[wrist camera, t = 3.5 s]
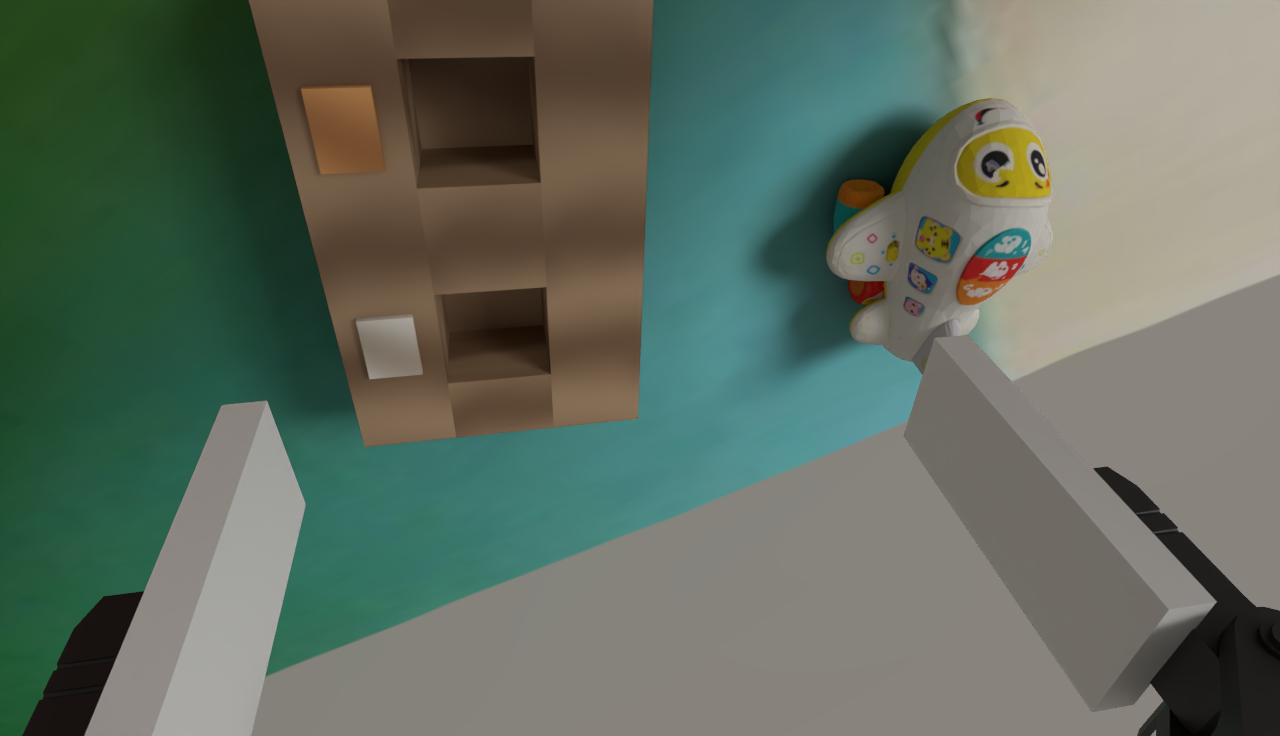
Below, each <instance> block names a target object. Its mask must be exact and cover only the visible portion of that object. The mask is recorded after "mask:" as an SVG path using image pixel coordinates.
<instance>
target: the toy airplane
mask: <svg viewBox="0 0 1280 736" xmlns="http://www.w3.org/2000/svg"><path fill="white" fill-rule="evenodd" d="M884 192H885V190H884V188H883V187H882V186H880V185H879V184H878V183H876V182H875V181H869V180H862V179H860V180H849V181H846V182H844V183H843V184H842V185H841V187H840V189H839V192H838V195H837V200H836V206H835V211H834V217H833V234H834V235H833V237H832V238H831V240H830V241H829V243H828V247H827V251H826V260H827V264H828V266H829V268H830V269H831V271H832V272H833V273H834V274H836V275H837V276H839V277H841V278H844V279H848V287H849V293H850V295H851V297H852V299H853V300H854V301H855V302H857V303H858V304H861V305H866V306H865V307H863V308H862V309H861V310H859V311H858V312H857V313H856V314H855V315H854V316H853V317H852V319H851V322H850V325H849V329H850V333H851V335H852V337H853V338H854V339H855V340H856V341H858V342H860V343H864V344H874V345H883V346H884V348H885V349H887V350H888V351H889V352H890V353H892V354H893V355H895V356H896V357H898V358H900V359H902V360H906V361H911V362H914V364H915V365H916V367H917V368H918V369H919V371H920V372H921V373H922V374H923V373H924V370H925V367H926V363H927V360H928V357H929V354H930V351H931V348H932V344H933V341H934V338H940V337H951V336H962V335H966V334H968V333H969V332H970V331H971V330H972V329H973V328H974V327H975V325H976V323H977V321H978V319H979V310H978V308H979V307H980V306H981V305H982V304H983V303H985V302H986V301H987V300H988V299H990V298H991V297H992V296H993V295H995V294H996V293H997V292H998V291H999V290H1000V289H1001V288H1002V287H1003V286H1004V285H1005V284H1007V283H1008V282H1009V281H1010V280H1011V278H1012V277H1013V276H1016V275H1019V274H1022V273H1025V272H1028V271H1029V270H1031V269H1033V268H1034V267H1036V266H1037V265H1038V264H1039V263H1041V262H1042V261H1043V260H1044V258H1045V257H1046V256H1047V254H1048V252H1049V250H1050V249H1051V246H1052V241H1053V233H1052V227H1051V225H1050V223H1049V221H1048V219H1047V213H1048V207H1049V204H1050V202H1051V200H1052V195H1053V184H1052V178H1051V172H1050V167H1049V163H1048V159H1047V154H1046V151H1045V148H1044V144H1043V142H1042V140H1041V139H1040V137H1039V135H1038V134H1037V132H1036V131H1035V129H1034V128H1033V126H1032V125H1031V123H1030V122H1029V121H1028V119H1027V118H1026V117H1025V116H1024V115H1023V114H1022V113H1021V111H1020V110H1019V109H1018V108H1016V107H1015V106H1013V105H1012V104H1010V103H1008V102H1007V101H1004V100H1001V99H993V98H988V99H982V100H976V101H974V102H971V103H968V104H965V105H963V106H961V107H959V108H957V109H955V110H953V111H951V112H949V113H948V114H946V115H945V116H944V117H942V118H941V119H939V120H938V121H937V122H936V123H935V124H934V125H933V126H932V127H930V128H929V129H928V130H927V131H926V132H925V133H924V134H923V135H922V136H921V138H920V139H919V140H918V141H917V142H916V144H915V145H914V146H913V147H912V149H911V151H910V152H909V154H908V155H907V157H906V158H905V160H904V162H903V164H902V166H901V167H900V170H899V172H898V174H897V176H896V179H895V181H894V183H893V186H892V190H891V193H890V194H889V195H887V196H885V197H884Z"/></svg>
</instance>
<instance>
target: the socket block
mask: <svg viewBox="0 0 1280 736" xmlns="http://www.w3.org/2000/svg"><path fill="white" fill-rule="evenodd" d="M249 3H250V7H251V11H252V15H253V19H254V23H255V26H256V30H257V34H258V38H259V42H260V46H261V50H262V53H263V57H264V61H265V65H266V69H267V73H268V76H269V80H270V84H271V88H272V92H273V96H274V100H275V103H276V107H277V111H278V115H279V119H280V123H281V126H282V130H283V134H284V138H285V142H286V146H287V149H288V153H289V157H290V161H291V165H292V169H293V173H294V176H295V180H296V184H297V188H298V192H299V196H300V199H301V203H302V207H303V211H304V215H305V219H306V223H307V226H308V230H309V234H310V238H311V242H312V246H313V249H314V253H315V257H316V261H317V265H318V269H319V273H320V276H321V280H322V284H323V288H324V292H325V296H326V299H327V303H328V307H329V311H330V315H331V319H332V323H333V326H334V330H335V334H336V338H337V342H338V346H339V349H340V353H341V357H342V361H343V365H344V369H345V372H346V376H347V380H348V384H349V388H350V392H351V396H352V399H353V403H354V407H355V411H356V415H357V419H358V422H359V426H360V430H361V434H362V438H363V442H364V446H365V447H368V446H378V445H387V444H397V443H407V442H417V441H426V440H436V439H446V438H456V437H465V436H475V435H485V434H494V433H504V432H514V431H524V430H533V429H543V428H553V427H562V426H572V425H582V424H592V423H601V422H611V421H621V420H631V419H638V401H639V375H640V348H641V322H642V295H643V269H644V242H645V216H646V189H647V162H648V136H649V109H650V83H651V56H652V30H653V3H654V0H249Z"/></svg>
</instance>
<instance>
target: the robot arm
mask: <svg viewBox="0 0 1280 736" xmlns="http://www.w3.org/2000/svg"><path fill="white" fill-rule="evenodd" d="M904 437H905V439H906V440H907V442H908V443H909V445H910V446H911V447H912V449H913V451H914V452H915V453H916V455H917V456H918V458H919V459H920V461H921V462H922V464H923V465H924V467H925V468H926V470H927V471H928V473H929V474H930V475H931V477H932V478H933V480H934V481H935V483H936V484H937V486H938V487H939V489H940V490H941V492H942V493H943V495H944V496H945V497H946V499H947V500H948V502H949V503H950V505H951V506H952V508H953V509H954V510H955V512H956V514H957V515H958V517H959V518H960V519H961V521H962V522H963V524H964V525H965V527H966V528H967V530H968V531H969V533H970V534H971V536H972V537H973V538H974V540H975V541H976V543H977V544H978V546H979V547H980V549H981V550H982V552H983V553H984V555H985V556H986V558H987V559H988V560H989V562H990V564H991V565H992V566H993V568H994V569H995V571H996V572H997V574H998V575H999V577H1000V578H1001V580H1002V581H1003V583H1004V584H1005V585H1006V587H1007V588H1008V590H1009V591H1010V593H1011V594H1012V596H1013V597H1014V599H1015V600H1016V602H1017V603H1018V605H1019V606H1020V608H1021V609H1022V610H1023V612H1024V613H1025V615H1026V616H1027V618H1028V619H1029V621H1030V622H1031V624H1032V625H1033V627H1034V628H1035V630H1036V631H1037V632H1038V634H1039V635H1040V637H1041V638H1042V640H1043V641H1044V643H1045V644H1046V646H1047V647H1048V649H1049V650H1050V651H1051V653H1052V654H1053V656H1054V657H1055V659H1056V660H1057V662H1058V663H1059V665H1060V666H1061V668H1062V669H1063V671H1064V672H1065V674H1066V675H1067V677H1068V678H1069V679H1070V681H1071V682H1072V684H1073V685H1074V687H1075V688H1076V690H1077V691H1078V693H1079V694H1080V696H1081V697H1082V699H1083V700H1084V701H1085V703H1086V704H1087V706H1088V707H1089V709H1090V710H1091V712H1095V711H1100V710H1106V709H1111V708H1117V707H1123V706H1128V705H1133V704H1134V703H1135V702H1136V701H1137V700H1138V699H1139V697H1140V696H1141V695H1142V693H1143V692H1144V691H1145V690H1146V689H1147V687H1148V686H1149V685H1150V684H1152V685H1153V687H1154V688H1155V690H1156V691H1157V692H1158V694H1159V695H1160V696H1161V697H1162V699H1163V700H1164V701H1163V702H1162V703H1161V704H1160V706H1159V707H1158V708H1157V709H1156V710H1155V711H1154V713H1153V714H1152V715H1151V716H1150V717H1149V718H1148V720H1147V721H1146V722H1145V723H1144V724H1143V726H1142V727H1141V728H1140V729H1139V732H1138V735H1137V736H1150V735H1151V734H1152V733H1153V732H1154V731H1155V730H1156V736H1280V611H1278V610H1274V609H1270V608H1266V607H1256V606H1255V605H1254V604H1252V603H1251V602H1250V601H1249V600H1248V599H1247V598H1246V597H1245V596H1244V595H1243V594H1242V593H1241V592H1240V591H1239V590H1238V589H1237V588H1236V587H1235V586H1234V585H1233V584H1232V583H1231V582H1230V581H1229V580H1228V579H1227V578H1226V576H1225V575H1224V574H1223V573H1222V572H1221V571H1220V570H1219V569H1218V568H1217V567H1216V566H1215V565H1214V564H1213V563H1212V562H1211V561H1210V560H1209V559H1208V558H1207V557H1206V556H1205V555H1204V554H1203V553H1202V552H1201V551H1200V550H1199V549H1198V548H1197V547H1196V546H1195V545H1194V544H1193V543H1192V542H1191V541H1190V540H1189V538H1188V537H1187V536H1186V535H1185V534H1184V533H1182V532H1178V530H1177V526H1176V525H1175V524H1174V523H1173V522H1172V521H1171V520H1170V519H1169V518H1168V517H1167V516H1166V515H1165V514H1164V513H1162V514H1161V513H1160V512H1159V508H1158V507H1157V506H1156V505H1155V504H1154V503H1153V502H1152V501H1151V499H1150V498H1148V496H1147V495H1146V494H1145V493H1144V492H1143V491H1142V490H1141V489H1140V488H1139V487H1138V486H1136V485H1135V484H1133V483H1132V482H1131V481H1129V480H1127V479H1126V478H1124V477H1123V476H1121V475H1119V474H1118V473H1116V472H1115V471H1113V470H1112V469H1110V468H1109V467H1101V468H1092V467H1091V466H1090V465H1089V464H1088V463H1087V462H1086V461H1085V460H1084V459H1083V458H1082V456H1081V455H1080V454H1079V453H1078V452H1077V451H1076V450H1075V449H1074V448H1073V447H1072V446H1071V445H1070V444H1069V443H1068V442H1067V440H1066V439H1065V438H1064V437H1063V436H1062V435H1061V434H1060V433H1059V432H1058V431H1057V430H1056V429H1055V428H1054V426H1053V425H1052V424H1051V423H1050V422H1049V421H1048V420H1047V419H1046V418H1045V417H1044V416H1043V415H1042V414H1041V412H1039V410H1038V409H1037V408H1036V407H1035V406H1034V405H1033V404H1032V403H1031V402H1030V401H1029V400H1028V399H1027V397H1025V395H1024V394H1023V393H1022V392H1021V391H1020V390H1019V389H1018V388H1017V387H1016V386H1015V385H1014V384H1013V382H1012V381H1011V380H1010V379H1009V378H1008V377H1007V376H1006V375H1005V374H1004V373H1003V372H1002V371H1001V370H1000V368H999V367H998V366H997V365H996V364H995V363H994V362H993V361H992V360H991V359H990V358H989V357H988V356H987V355H986V353H985V352H984V351H983V350H982V349H981V348H980V347H979V346H978V345H977V344H976V343H975V342H974V341H973V340H972V338H971V337H970V336H969V335H962V336H951V337H940V338H934V341H933V344H932V348H931V351H930V354H929V357H928V360H927V363H926V367H925V370H924V373H923V376H922V379H921V382H920V386H919V389H918V392H917V395H916V398H915V401H914V405H913V408H912V411H911V414H910V417H909V420H908V424H907V427H906V430H905V433H904ZM305 506H306V504H305V502H304V499H303V496H302V493H301V491H300V488H299V485H298V483H297V480H296V477H295V475H294V472H293V469H292V467H291V464H290V461H289V459H288V456H287V453H286V451H285V448H284V445H283V443H282V440H281V437H280V434H279V432H278V429H277V426H276V424H275V421H274V418H273V416H272V413H271V410H270V408H269V405H268V402H267V401H259V402H249V403H238V404H227V405H222V406H221V408H220V410H219V413H218V415H217V418H216V420H215V423H214V425H213V427H212V430H211V432H210V435H209V437H208V439H207V442H206V444H205V447H204V449H203V451H202V454H201V456H200V459H199V461H198V463H197V466H196V468H195V471H194V473H193V475H192V478H191V480H190V483H189V485H188V487H187V490H186V492H185V495H184V497H183V499H182V502H181V504H180V507H179V509H178V512H177V514H176V516H175V519H174V521H173V524H172V526H171V528H170V531H169V533H168V536H167V538H166V540H165V543H164V545H163V548H162V550H161V552H160V555H159V557H158V560H157V562H156V564H155V567H154V569H153V572H152V574H151V576H150V579H149V581H148V584H147V586H146V588H145V591H143V592H135V593H128V594H120V595H112V596H104V597H103V598H102V599H101V600H100V601H99V602H98V603H97V604H96V605H95V607H94V608H93V609H92V610H91V611H90V612H89V613H88V614H87V615H86V616H85V617H84V618H83V620H82V621H81V622H80V623H79V624H78V625H77V626H76V627H75V628H74V630H73V632H72V634H71V636H70V638H69V640H68V642H67V644H66V646H65V648H64V650H63V652H62V654H61V656H60V659H59V661H58V663H57V665H58V668H57V670H56V671H53V673H52V675H51V677H50V679H49V681H48V683H47V686H46V688H45V690H44V692H43V694H44V697H43V699H42V700H39V702H38V704H37V706H36V708H35V710H34V712H33V715H32V717H31V719H30V721H29V723H28V725H27V727H26V729H25V731H24V733H23V735H22V736H251V733H252V729H253V724H254V721H255V716H256V712H257V708H258V703H259V699H260V695H261V691H262V687H263V683H264V678H265V674H266V670H267V666H268V662H269V657H270V653H271V649H272V645H273V640H274V636H275V632H276V628H277V624H278V619H279V615H280V611H281V607H282V602H283V598H284V594H285V590H286V586H287V581H288V577H289V573H290V569H291V565H292V560H293V556H294V552H295V548H296V543H297V539H298V535H299V531H300V527H301V522H302V518H303V514H304V510H305Z"/></svg>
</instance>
